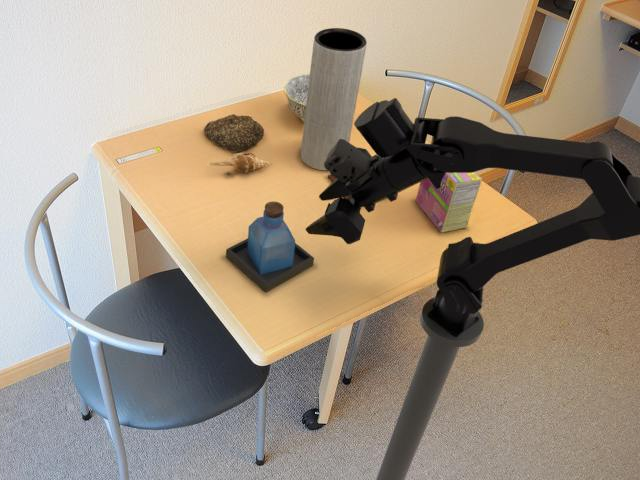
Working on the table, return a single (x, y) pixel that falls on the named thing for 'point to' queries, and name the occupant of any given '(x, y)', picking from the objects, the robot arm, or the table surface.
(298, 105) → the bowl
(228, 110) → the table surface
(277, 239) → the perfume bottle
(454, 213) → the box
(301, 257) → the tray
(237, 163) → the spiral seashell
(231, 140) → the bread roll
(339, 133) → the planter
